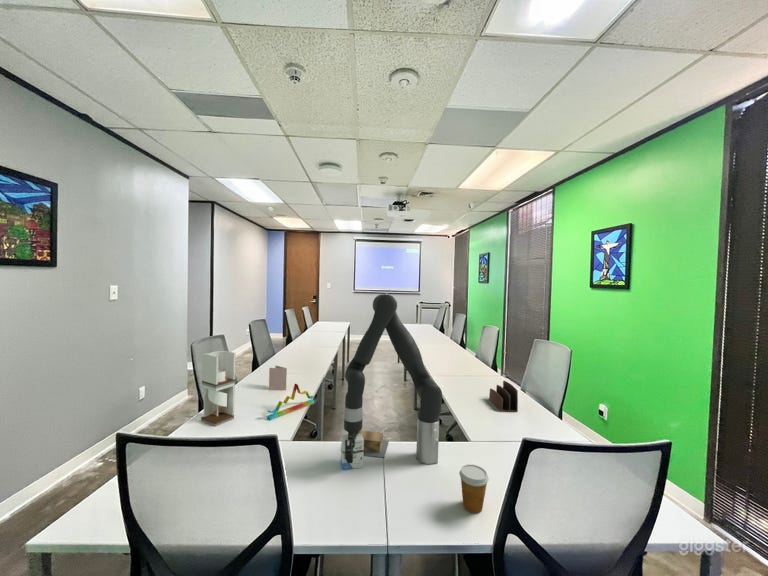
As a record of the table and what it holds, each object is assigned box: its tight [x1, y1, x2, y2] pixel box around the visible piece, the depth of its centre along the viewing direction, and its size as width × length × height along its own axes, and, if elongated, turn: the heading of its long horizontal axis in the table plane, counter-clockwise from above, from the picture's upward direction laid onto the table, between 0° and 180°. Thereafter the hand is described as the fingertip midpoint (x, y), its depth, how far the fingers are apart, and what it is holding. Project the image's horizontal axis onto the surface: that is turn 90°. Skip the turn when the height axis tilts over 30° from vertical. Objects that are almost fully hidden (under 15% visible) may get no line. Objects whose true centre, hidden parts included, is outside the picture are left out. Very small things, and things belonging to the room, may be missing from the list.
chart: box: [266, 383, 315, 421], centre depth 177 cm, size 30×3×15 cm, turn 144°
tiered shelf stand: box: [200, 350, 237, 427], centre depth 163 cm, size 11×11×35 cm
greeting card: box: [268, 364, 288, 391], centre depth 210 cm, size 11×7×15 cm, turn 58°
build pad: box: [363, 439, 390, 459], centre depth 141 cm, size 16×14×1 cm
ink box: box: [340, 434, 364, 471], centre depth 126 cm, size 8×5×12 cm, turn 105°
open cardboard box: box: [359, 429, 384, 453], centre depth 141 cm, size 11×8×5 cm
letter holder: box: [488, 380, 519, 413], centre depth 195 cm, size 10×20×14 cm, turn 2°
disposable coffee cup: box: [458, 463, 490, 514], centre depth 105 cm, size 10×10×12 cm
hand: (352, 457), depth 126 cm, fingers closed on ink box, 6 cm apart
